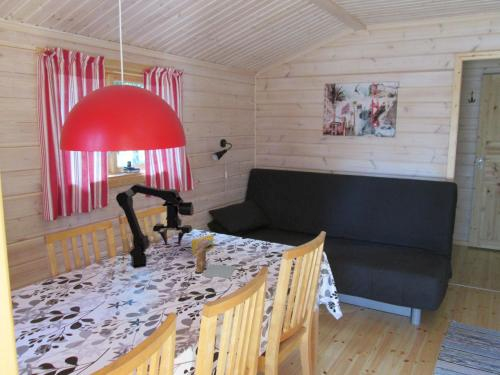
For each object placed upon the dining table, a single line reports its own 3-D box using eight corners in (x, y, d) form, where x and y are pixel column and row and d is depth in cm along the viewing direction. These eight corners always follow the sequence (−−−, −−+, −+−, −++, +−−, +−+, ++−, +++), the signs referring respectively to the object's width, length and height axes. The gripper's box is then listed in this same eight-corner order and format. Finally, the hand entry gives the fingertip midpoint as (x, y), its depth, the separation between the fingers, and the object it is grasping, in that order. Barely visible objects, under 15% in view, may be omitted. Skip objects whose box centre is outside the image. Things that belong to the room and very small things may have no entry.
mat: (202, 275, 209) (202, 275, 209) (209, 264, 225) (209, 264, 225) (230, 277, 207) (230, 276, 207) (236, 266, 223) (236, 266, 223)
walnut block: (196, 272, 214) (196, 252, 212) (200, 267, 221) (200, 248, 219) (202, 272, 213) (202, 252, 212) (205, 267, 220) (205, 248, 219)
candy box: (194, 254, 241) (194, 240, 240) (191, 254, 243) (191, 239, 241) (213, 248, 254) (213, 234, 253) (210, 247, 255) (211, 234, 254)
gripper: (194, 212, 222) (195, 241, 224) (160, 210, 224) (160, 239, 227) (188, 216, 211) (189, 247, 213) (152, 215, 213) (152, 245, 216)
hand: (172, 244), depth 218 cm, fingers open, 6 cm apart
